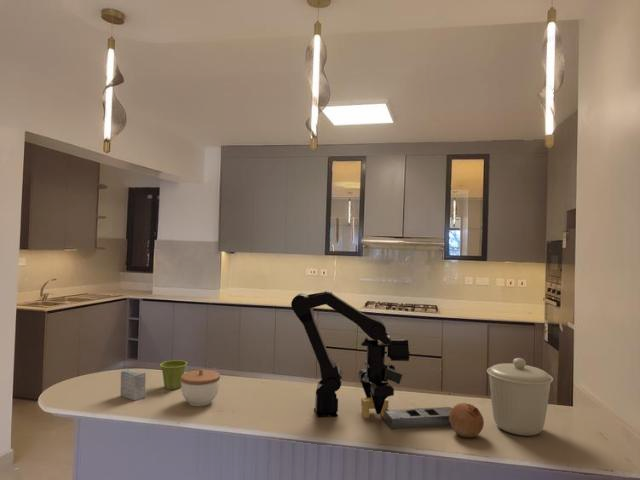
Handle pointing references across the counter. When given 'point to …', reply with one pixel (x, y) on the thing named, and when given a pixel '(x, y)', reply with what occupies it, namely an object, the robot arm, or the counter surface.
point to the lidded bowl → (200, 386)
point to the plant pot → (173, 373)
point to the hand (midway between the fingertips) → (374, 409)
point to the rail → (417, 417)
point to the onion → (466, 420)
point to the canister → (519, 397)
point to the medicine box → (133, 384)
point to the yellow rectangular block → (371, 406)
